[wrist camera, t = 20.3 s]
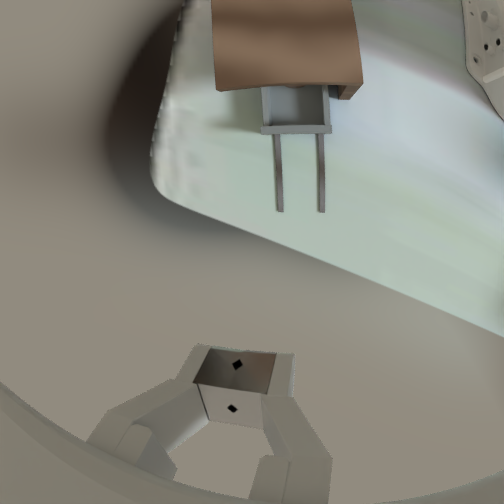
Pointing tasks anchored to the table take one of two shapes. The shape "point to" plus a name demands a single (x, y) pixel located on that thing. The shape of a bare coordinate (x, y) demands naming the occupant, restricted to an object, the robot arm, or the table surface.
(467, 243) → the table surface
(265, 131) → the tray
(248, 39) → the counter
